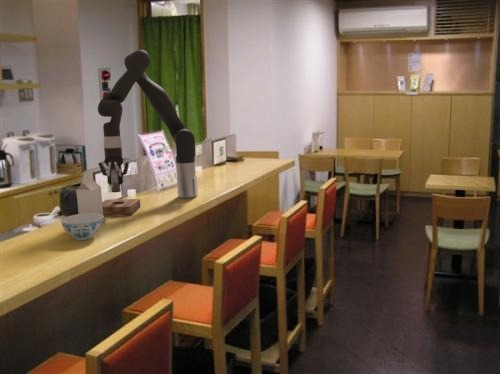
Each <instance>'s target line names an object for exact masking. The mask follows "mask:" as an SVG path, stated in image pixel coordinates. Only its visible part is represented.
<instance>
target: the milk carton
mask: <svg viewBox="0 0 500 374" xmlns="http://www.w3.org/2000/svg"><path fill="white" fill-rule="evenodd" d="M75 191H76V199H77V200H76V201H77V212H78V214H89V213H91V214H100V215H102V223H101V224H103V223H105V220H104V219H105V218H104V217H105V216H103V205H102V202H103V198H102V197H103V196H102V187H101V186H100V184H98V183H97V182H96V181H95V180H94V176H93V177H89V178H86V179H83V180H82V182H81V183H80V186H78V188H77V189H76V190H75Z"/></svg>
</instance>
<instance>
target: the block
mask: <svg viewBox="0 0 500 374" xmlns="http://www.w3.org/2000/svg"><path fill="white" fill-rule="evenodd" d="M102 205H103V217H125V216H126V217H127V216H128V217H129V216H133V215H134V214H135V213H136V212H137V211H138V210H140V208H142V207H141V199H140V198H121V199H120V198H119V199H118V198H117V199H116V198H115V199H105V200H102Z"/></svg>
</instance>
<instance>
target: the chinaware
mask: <svg viewBox="0 0 500 374" xmlns="http://www.w3.org/2000/svg"><path fill="white" fill-rule="evenodd" d="M60 222H61V226H62V228H63V229H64V231H65V232H66V233H67V234H68V235H69V236H71V237H73V238H74V240H75V241H88V240H91V239H92V238H93V236H94V235H95V234H96V233H97V232H98V231H99V230H100V228H101V226H102V224H103V223H102V215H100V214H91V213H89V214H79V213H77V214H72V215H69V216H65V217H62V219H60ZM87 239H88V240H87Z"/></svg>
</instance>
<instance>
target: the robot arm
mask: <svg viewBox="0 0 500 374" xmlns="http://www.w3.org/2000/svg"><path fill="white" fill-rule="evenodd" d="M123 61H124V63H123V64H124V66H125V69H126V71H125V72H124V73H123V74H122V75H121V76H120V77H119V79H117V81H116V82H115V84H114V85H113V87H112V89H111V90H110V91H109V92H108V93H107V94H106V95H105V96H104V97H103V98H101V100H100V101H99V103H98V104H97V112H98V114H99V115H100V116H101V117H103V118H108V117H109V118H110V121H107V122H105V123H103V126H102V127H103V129H102V130H103V131H102V132H103V149H104V152H103V153H104V160H103V161H100V162H98V167H99V169H100V171H101V174H102V175H103V176H106V178H107V184H108V185H109V186H111V177H110V170H111V169H116V170H117V172H118V174H119V185H120V186H121V185H122V184H124V176H125V175H127V174H128V171H129V167H130V161H126V160H124V158H123V150H122V149H123V147H122V146H123V145H122V137H121V129H120V128H121V122H122V115H123V105H122V103H123V102H124V101H125V100H126V99H127V97H128V95H129V93H130V91H132V89H133V86H134V85H135V83H136V84H137V85H138V86H139V87H140V89H141V91H142V93H144V95H145V97H146V98H147V100H148V101H149V102H148V103H150V105H151V107H152V108H153V110H154V111H155V113H156V114H157V115H158V117H159V119H160V120H161V121H162V122H163V123H164V125H165V126H166V128H167V129H168V131H169V134H170V136H171V138H172V140H173V142H174V145H175V151H176V154H175V168H176V184H177V185H176V186H177V197H178V198H181V199H191V198H197V196H198V195H199V194H198V181H197V179H198V178H197V175H196V162H195V161H196V140H195V139H196V138H195V135H194V133H193V132H192V131H191V130H189V129H187V127H186V126H185V125H184V123H183V122H182V120H181V119H180V117H179V114H178V113H177V110H176V107H175V106H174V103H173V101H172V99H171V97H170V95H169V93H167V91H166V90H165V89H164V88H163V87H161V86H160V85H159V84H157V83H156V82H154V81H153V80H152V79H151V78H149V76H148V74H147V73H146V72H145V71H146V70H147V69H148V68H149V66H150V65H151V56H150V54H149V53H148V52H147V51H146V50H144V49H138V50H134V51H133V52H131V53H130V54H128V55H126V56H125V57H124V60H123ZM122 165H123V168H122ZM105 166H106V167H107V169H106V167H105Z"/></svg>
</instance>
